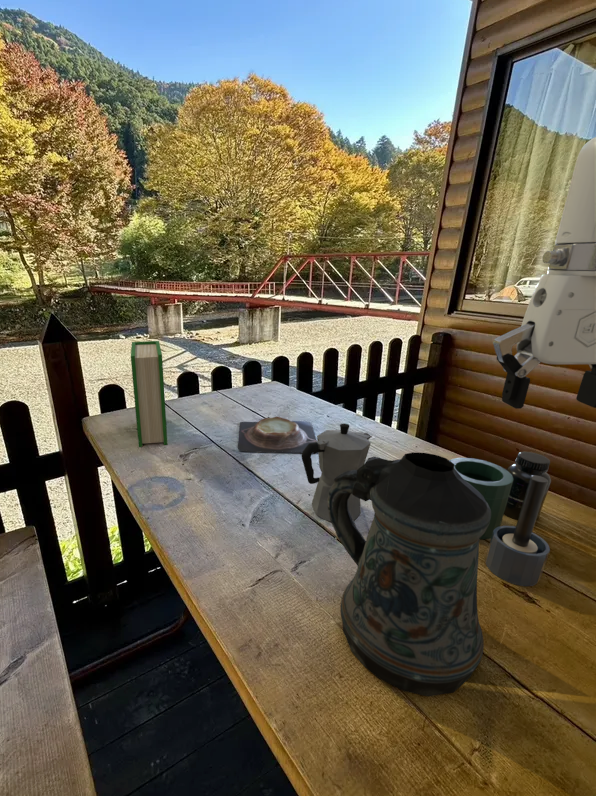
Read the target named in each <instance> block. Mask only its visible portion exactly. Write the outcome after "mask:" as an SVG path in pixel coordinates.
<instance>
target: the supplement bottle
mask: <svg viewBox="0 0 596 796" xmlns="http://www.w3.org/2000/svg"><path fill="white" fill-rule="evenodd" d="M550 465H551V460H550V458H548V457H546V456H545V455H543V454H539V453H536V452H532V451H520V452H518V453H517V456H516V459H515V461H514V463H513V464H511V465H509V466H508V467H506V470H507V471H508V472H509V473H510V474H511V475H512V477H513V483H512V486H511V490H510V494H509V497H508V501H507V504H506V508H505V511H504V515H503V516H505V517H507V518H510V519H513V520H515V521H518V518H519V515H520V511H521V508H522V505H523V501H524V498H525V495H526V491H527V488H528V485H529V481H530V478H531V476H533V475H536V476H541V477H544V478H546V479H547V480H548V484H547V487H546V490H545V493H544V496H543V499H542V503H541V506H540V509H539V512H538V515H537V518H536V521H538V520H539V518H540V515H541V513H542V510H543V506H544V503H545V502H546V501H545V500H546V498H547V495H548V492H549V489H550V486H551V483H552V478H551V476H550V474H549V473H548V471H549V468H550Z"/></svg>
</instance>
